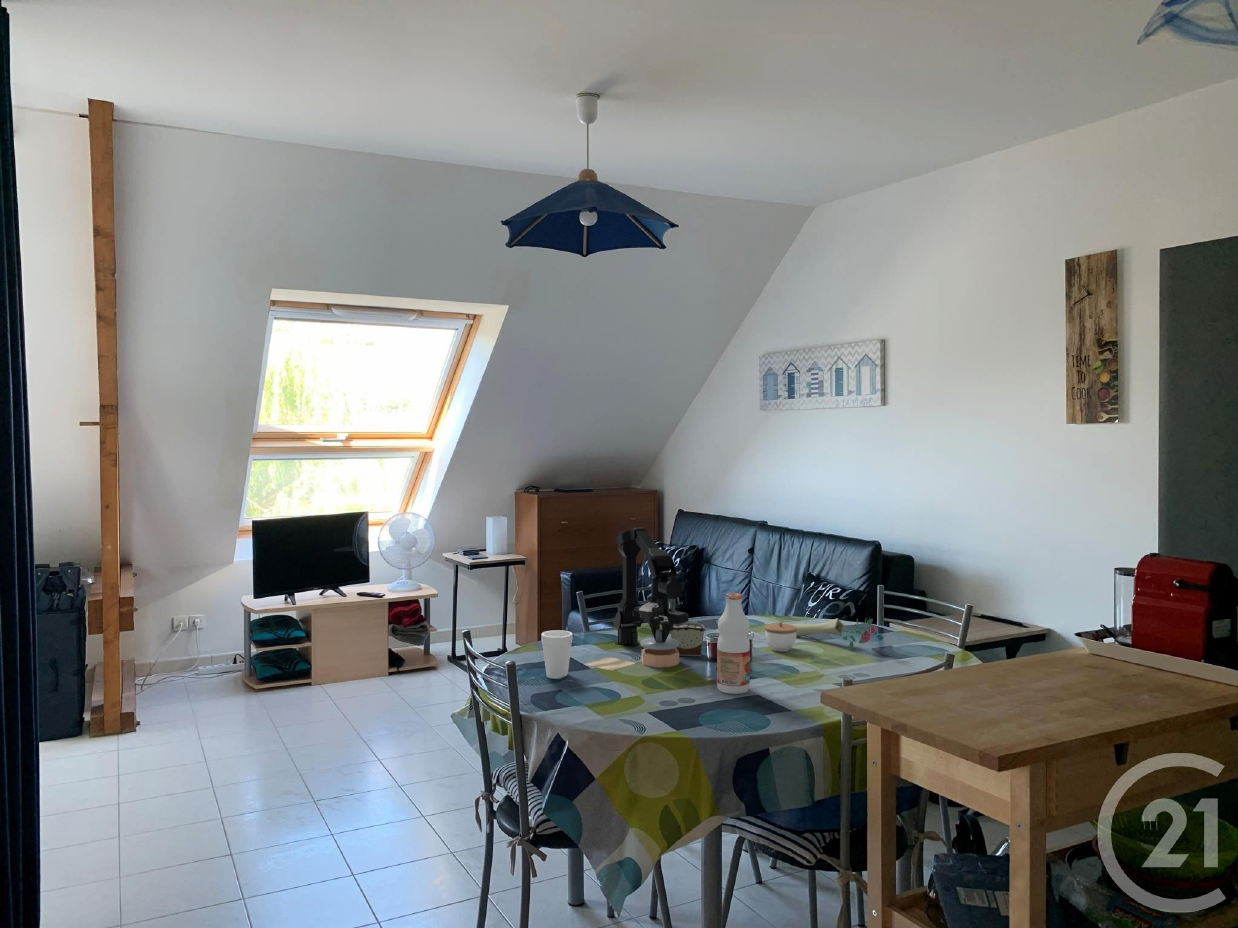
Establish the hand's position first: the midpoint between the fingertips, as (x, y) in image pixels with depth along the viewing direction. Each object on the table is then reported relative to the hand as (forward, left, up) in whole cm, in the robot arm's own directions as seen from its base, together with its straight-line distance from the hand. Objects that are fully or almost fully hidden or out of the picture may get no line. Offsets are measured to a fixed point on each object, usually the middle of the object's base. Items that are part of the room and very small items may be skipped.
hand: (660, 641), depth 297 cm
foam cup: (-15, -32, -7) cm, 36 cm away
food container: (-1, +16, -7) cm, 18 cm away
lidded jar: (+20, +41, -7) cm, 46 cm away
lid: (0, 0, -1) cm, 1 cm away
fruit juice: (+34, -9, -7) cm, 36 cm away
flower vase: (+31, +58, -7) cm, 67 cm away
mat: (-11, -12, -7) cm, 18 cm away
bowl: (0, 0, -7) cm, 7 cm away
